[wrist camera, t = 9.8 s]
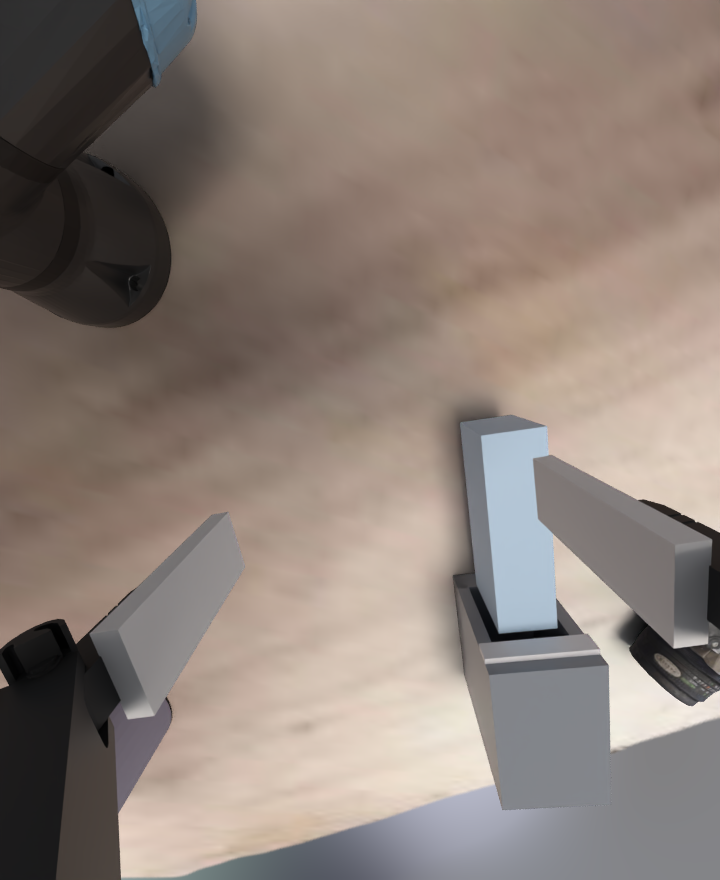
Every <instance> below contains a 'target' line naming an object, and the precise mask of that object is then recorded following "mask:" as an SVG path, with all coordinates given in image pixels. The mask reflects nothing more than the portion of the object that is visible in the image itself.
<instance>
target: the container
mask: <svg viewBox="0 0 720 880" xmlns="http://www.w3.org/2000/svg"><path fill="white" fill-rule="evenodd" d="M109 717H110V719H111V721H112V723H113V725H114V732H115V755H116V778H117V801H118V813H119V811H120V810H121V808H122V806H123V805H124V803H125V801H126V800H127V798H128V796H129V794H130V793H131V791H132V789H133V788H134V786H135V784H136V783H137V781H138V779H139V777H140V776H141V774H142V772H143V771H144V769H145V767H146V766H147V764H148V762H149V760H150V759H151V757H152V755H153V754H154V752H155V750H156V749H157V747H158V745H159V743H160V742H161V740H162V738H163V737H164V735H165V733H166V732H167V730H168V728H169V726H170V723H171V710H170V707H169V704H168V703H167V701H166V699H165V700H164V701H163V703H162V705H161V706H160V708H159V710H158V711H157V713H156V714H155V716H150V717H142V718H135V719H127V716H126V714H125V712H124V710H123V707H122V705H121V703H120V702H119V704H118V705H117V706H116V708H115V709H114V710H113V712H112V713H111V715H110V716H109Z"/></svg>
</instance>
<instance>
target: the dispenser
mask: <svg viewBox="0 0 720 880" xmlns="http://www.w3.org/2000/svg"><path fill="white" fill-rule="evenodd" d="M453 581H454V589H455V598H456V606H457V615H458V624H459V632H460V641H461V649H462V658H463V667H464V675H465V679H466V682H467V686H468V690H469V693H470V697H471V700H472V704H473V707H474V711H475V714H476V718H477V721H478V725H479V729H480V732H481V736H482V739H483V743H484V746H485V750H486V753H487V757H488V760H489V764H490V768H491V771H492V775H493V778H494V782H495V785H496V788H497V792H498V796H499V799H500V803H501V806H502V810H515V809H535V808H555V807H575V806H594V805H595V806H596V805H611V766H610V765H611V764H610V712H609V665H608V664H607V663H606V661H605V660H604V659H603V657H602V656H601V655H600V648H599V647H598V646H597V645H596V643H595V642H594V641H593V640H592V638H591V637H590V636H589V635H588V634H584V633H583V632H582V631H581V629H580V628H579V627H578V625H577V624H576V623H575V622H574V620H573V619H572V618H571V617H570V615H569V614H568V613H567V611H566V610H565V609H564V608H563V606H562V605H561V604H560V602H559V601H558V600H557V599H556V608H557V627H558V628H555V629H545V630H534V631H523V632H512V633H501V634H499V633H498V631H497V628H496V626H495V624H494V622H493V620H492V617H491V615H490V613H489V611H488V609H487V607H486V604H485V602H484V600H483V598H482V596H481V593H480V591H479V589H478V587H477V585H476V576H475V573H473V574H464V575H454V576H453Z"/></svg>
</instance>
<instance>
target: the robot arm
mask: <svg viewBox="0 0 720 880" xmlns="http://www.w3.org/2000/svg"><path fill="white" fill-rule="evenodd" d="M196 21H197V6H196V0H0V288H3V289H7V290H11V291H13V292H15V293H17V294H19V295H20V296H22V297H24V298H26V299H28V300H30V301H31V302H33V303H35V304H37V305H39V306H41V307H43V308H45V309H47V310H49V311H50V312H52V313H54V314H55V315H57V316H59V317H61V318H64V319H66V320H69V321H72V322H75V323H79V324H84V325H90V326H96V327H104V328H113V327H121V326H125V325H128V324H131V323H133V322H135V321H137V320H139V319H140V318H142V317H143V316H145V315H146V314H147V313H148V312H149V311H150V310H151V309H152V308H153V307H154V306H155V305H156V303H157V302H158V300H159V299H160V297H161V295H162V294H163V291H164V289H165V287H166V284H167V280H168V277H169V272H170V261H171V254H170V244H169V239H168V234H167V231H166V227H165V225H164V222H163V220H162V217H161V215H160V213H159V211H158V210H157V208H156V206H155V205H154V203H153V202H152V200H151V199H150V198H149V196H148V195H147V194H146V193H145V192H144V191H143V190H142V189H141V188H140V187H139V186H138V185H137V184H136V183H135V182H134V181H132V180H131V179H130V178H128V177H127V176H126V175H125V174H123V173H122V172H121V171H119V170H118V169H117V168H115V167H114V166H112V165H111V164H109V163H107V162H105V161H103V160H102V159H99V158H97V157H95V156H92V155H89V154H86V153H83V151H84V150H85V149H86V148H87V147H88V146H89V145H90V144H91V143H93V142H94V141H95V140H96V139H97V138H98V137H99V136H100V135H101V134H102V133H103V132H104V131H105V130H106V129H107V128H108V127H109V126H110V125H111V124H112V123H113V122H114V121H116V120H117V119H118V118H119V117H120V116H121V115H122V114H123V113H124V112H125V111H126V110H127V109H128V108H129V107H130V106H131V105H132V104H133V103H134V102H135V101H136V100H137V99H139V98H140V97H141V96H142V95H143V94H144V93H145V92H146V91H147V90H148V89H149V88H150V87H151V86H153V87H157V86H158V85H159V83H160V80H161V74H162V73H163V72H164V70H165V69H166V68H167V67H168V66H169V65H170V63H171V62H172V61H173V60H174V59H175V58H176V57H177V56H178V54H179V53H180V52H181V51H182V50H183V49H184V48H185V46H186V45H187V44H188V43H189V42H190V40H191V39H192V36H193V34H194V32H195V28H196ZM533 468H534V479H535V491H536V502H537V514H538V520H539V521H540V522H541V523H543V524H544V525H545V526H546V527H547V528H548V529H549V530H550V531H551V532H552V533H553V534H554V535H555V536H556V537H557V538H558V539H559V540H560V541H561V542H562V543H564V544H565V545H566V546H567V547H568V548H569V549H570V550H571V551H572V552H573V553H574V554H575V555H576V556H577V557H578V558H579V559H580V560H581V561H582V562H583V563H584V564H586V565H587V566H588V567H589V568H590V569H591V570H592V571H593V572H594V573H595V574H596V575H597V576H598V577H599V578H600V579H601V580H602V581H603V582H604V583H605V584H606V585H608V586H609V587H610V588H611V589H612V590H613V591H614V592H615V593H616V594H617V595H618V596H619V597H620V598H621V599H622V600H623V601H624V602H625V603H626V604H627V605H628V606H630V607H631V608H632V609H633V610H634V611H635V612H636V613H637V614H638V615H639V616H640V617H641V618H642V619H643V620H644V621H645V622H646V623H647V624H648V625H649V626H651V627H652V628H653V629H654V630H655V631H656V632H657V633H658V634H659V635H660V636H661V637H662V638H663V639H664V640H665V641H666V642H667V643H668V644H669V645H670V646H671V647H673V648H682V647H690V646H697V645H705V644H708V631H709V622H710V623H712V624H713V625H714V626H715V627H717V628H718V629H719V630H720V533H719V532H717V531H715V530H713V529H711V528H709V527H707V526H705V525H703V524H701V523H699V522H695V520H693V519H691V518H689V517H687V516H685V515H681V513H679V512H677V511H675V510H673V509H671V508H669V507H667V506H665V505H661V504H658V503H654V502H651V501H647V500H644V499H643V500H636V499H634V498H632V497H631V496H629V495H627V494H625V493H623V492H621V491H619V490H617V489H615V488H613V487H612V486H610V485H608V484H606V483H604V482H602V481H600V480H598V479H596V478H594V477H593V476H591V475H589V474H587V473H585V472H583V471H581V470H579V469H577V468H575V467H574V466H572V465H570V464H568V463H566V462H564V461H562V460H560V459H558V458H557V457H555V456H553V455H549V456H543V457H538V458H533ZM244 568H245V564H244V561H243V557H242V554H241V551H240V548H239V545H238V541H237V538H236V535H235V532H234V529H233V525H232V522H231V519H230V516H229V512H225V513H219V514H214V515H211V516H210V517H209V518H208V519H207V520H206V521H205V522H204V523H203V524H202V525H201V526H200V527H199V528H198V529H197V530H196V531H195V532H194V533H193V534H192V535H191V536H190V537H189V538H187V539H186V540H185V541H184V542H183V543H182V544H181V545H180V546H179V547H178V548H177V549H176V550H175V551H174V552H173V553H172V554H171V555H170V556H169V557H168V558H167V559H166V560H165V561H164V562H163V563H162V564H161V565H160V566H159V567H158V568H157V569H156V570H155V571H154V572H153V573H152V574H151V575H149V576H148V577H147V578H146V579H145V580H144V581H143V582H142V583H141V584H140V585H139V586H138V587H137V588H135V589H134V590H133V591H131V592H130V593H129V594H128V595H127V596H126V597H124V598H123V599H122V600H121V601H120V602H119V603H118V606H115V607H114V608H113V609H112V610H111V611H110V612H109V613H108V615H107V616H105V617H104V618H103V619H102V620H101V621H100V622H99V623H98V624H96V625H95V626H94V627H93V628H92V629H91V630H90V631H89V632H88V633H87V634H86V635H85V636H84V637H83V638H82V639H81V640H80V641H79V642H78V643H77V644H75V642H74V640H73V638H72V635H71V633H70V631H69V629H68V627H67V625H66V622H65V620H63V619H56V620H51V621H47V622H45V623H42V624H40V625H37V626H35V627H33V628H31V629H29V630H27V631H25V632H23V633H22V634H20V635H19V636H17V637H15V638H14V639H12V640H11V641H9V642H8V643H7V644H6V645H5V646H4V647H2V648H1V649H0V669H1V671H2V673H3V675H4V677H5V679H6V680H7V682H8V684H9V686H7V687H4V688H2V689H0V880H121V871H120V848H119V825H118V801H117V778H116V755H115V732H114V725H113V723H112V721H111V719H110V717H109V716H110V715H111V713H112V712H113V710H114V709H115V708H116V706H117V705H118V704H119V702H120V703H121V705H122V707H123V710H124V712H125V714H126V716H127V719H135V718H142V717H150V716H155V714H156V713H157V711H158V710H159V708H160V706H161V705H162V703H163V701H164V700H165V698H166V696H167V695H168V693H169V691H170V690H171V688H172V687H173V685H174V683H175V682H176V680H177V678H178V677H179V675H180V673H181V672H182V670H183V668H184V667H185V665H186V663H187V662H188V660H189V659H190V657H191V655H192V654H193V652H194V650H195V649H196V647H197V645H198V644H199V642H200V640H201V639H202V637H203V635H204V634H205V632H206V631H207V629H208V627H209V626H210V624H211V622H212V621H213V619H214V617H215V616H216V614H217V612H218V611H219V609H220V608H221V606H222V604H223V603H224V601H225V599H226V598H227V596H228V594H229V593H230V591H231V589H232V588H233V586H234V584H235V583H236V581H237V580H238V578H239V576H240V575H241V573H242V571H243V570H244Z"/></svg>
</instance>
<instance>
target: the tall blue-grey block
mask: <svg viewBox="0 0 720 880" xmlns="http://www.w3.org/2000/svg"><path fill="white" fill-rule="evenodd" d="M460 429H461V439H462V448H463V458H464V468H465V478H466V488H467V497H468V507H469V517H470V527H471V537H472V546H473V556H474V566H475V576H476V585H477V587H478V589H479V591H480V593H481V596H482V598H483V600H484V602H485V604H486V607H487V609H488V611H489V613H490V615H491V617H492V620H493V622H494V624H495V626H496V628H497V631H498V633H499V634H501V633H512V632H523V631H534V630H545V629H555V628H558V627H557V608H556V589H555V570H554V551H553V533H552V532H551V531H550V530H549V529H548V528H547V527H546V526H545V525H544V524H543V523H541V522H540V521H539V520H538V514H537V502H536V491H535V479H534V468H533V458H538V457H543V456H549V455H548V435H547V426H545V425H541V424H538V423H535V422H532V421H529V420H526V419H523V418H520V417H517V416H514V415H507V416H500V417H493V418H486V419H479V420H473V421H466V422H460Z"/></svg>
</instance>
